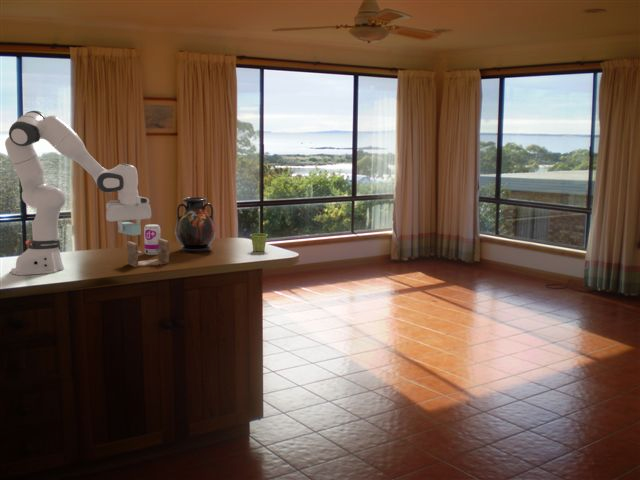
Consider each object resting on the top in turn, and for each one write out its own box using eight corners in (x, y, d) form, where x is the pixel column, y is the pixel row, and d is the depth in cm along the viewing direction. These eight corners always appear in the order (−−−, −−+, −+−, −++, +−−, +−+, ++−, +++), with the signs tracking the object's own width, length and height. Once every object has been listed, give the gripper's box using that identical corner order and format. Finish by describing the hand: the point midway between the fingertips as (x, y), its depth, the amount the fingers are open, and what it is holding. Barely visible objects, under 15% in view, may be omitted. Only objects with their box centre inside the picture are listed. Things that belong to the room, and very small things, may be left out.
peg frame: (134, 267, 326) (134, 244, 324) (128, 264, 333) (127, 241, 331) (169, 263, 335) (168, 241, 334) (161, 260, 343) (161, 238, 341)
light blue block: (131, 235, 309) (131, 225, 308) (118, 232, 318) (117, 222, 317) (141, 234, 312) (140, 224, 312) (127, 231, 321) (127, 221, 320)
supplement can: (157, 255, 355) (156, 226, 353) (142, 254, 357) (141, 226, 355) (163, 252, 363) (162, 224, 361) (149, 252, 365) (148, 223, 363)
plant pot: (271, 250, 373) (271, 234, 372) (260, 252, 366) (260, 236, 364) (257, 248, 378) (257, 232, 377) (246, 251, 371) (246, 235, 369)
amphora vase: (176, 254, 358) (174, 201, 354) (174, 247, 379) (173, 196, 374) (217, 253, 363) (217, 200, 359) (214, 246, 384) (213, 196, 379)
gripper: (108, 201, 304) (109, 232, 306) (152, 199, 316) (153, 229, 318) (103, 200, 309) (104, 230, 311) (146, 197, 321) (147, 227, 323)
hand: (129, 229), depth 315 cm, fingers closed on light blue block, 5 cm apart
